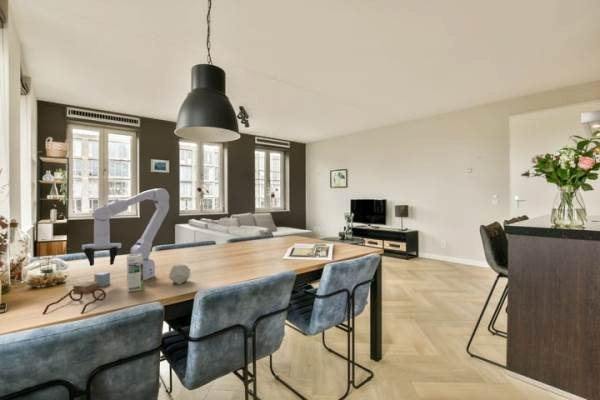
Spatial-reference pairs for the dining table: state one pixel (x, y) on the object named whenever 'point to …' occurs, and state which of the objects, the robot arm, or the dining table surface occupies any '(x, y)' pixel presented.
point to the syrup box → (134, 272)
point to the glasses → (80, 298)
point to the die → (179, 273)
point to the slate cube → (102, 278)
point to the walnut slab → (86, 286)
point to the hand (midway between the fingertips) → (102, 264)
